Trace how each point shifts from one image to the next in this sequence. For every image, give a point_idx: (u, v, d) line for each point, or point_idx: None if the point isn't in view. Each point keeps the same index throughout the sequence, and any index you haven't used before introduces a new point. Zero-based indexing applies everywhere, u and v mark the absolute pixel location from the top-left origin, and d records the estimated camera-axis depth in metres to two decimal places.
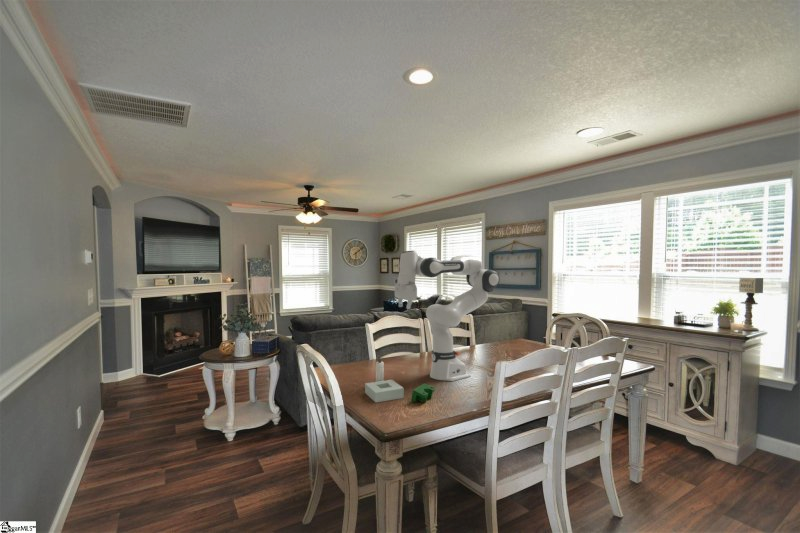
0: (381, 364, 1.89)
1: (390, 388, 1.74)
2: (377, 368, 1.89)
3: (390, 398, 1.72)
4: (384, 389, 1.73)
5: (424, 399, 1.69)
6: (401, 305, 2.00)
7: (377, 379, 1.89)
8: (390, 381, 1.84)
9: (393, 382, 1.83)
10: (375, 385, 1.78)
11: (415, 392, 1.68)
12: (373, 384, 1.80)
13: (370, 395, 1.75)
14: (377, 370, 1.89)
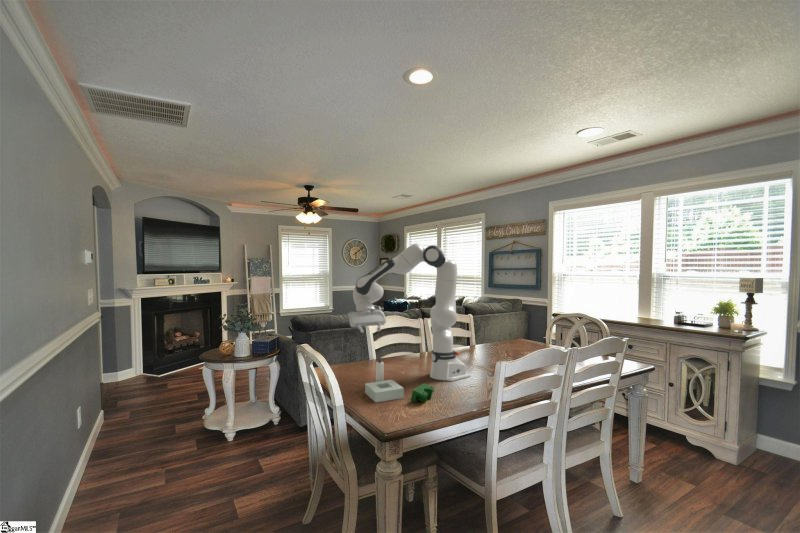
0: (381, 364, 1.89)
1: (390, 388, 1.74)
2: (377, 368, 1.89)
3: (390, 398, 1.72)
4: (384, 389, 1.73)
5: (424, 399, 1.69)
6: (377, 329, 2.04)
7: (377, 379, 1.89)
8: (390, 381, 1.84)
9: (393, 382, 1.83)
10: (375, 385, 1.78)
11: (415, 392, 1.68)
12: (373, 384, 1.80)
13: (370, 395, 1.75)
14: (377, 370, 1.89)
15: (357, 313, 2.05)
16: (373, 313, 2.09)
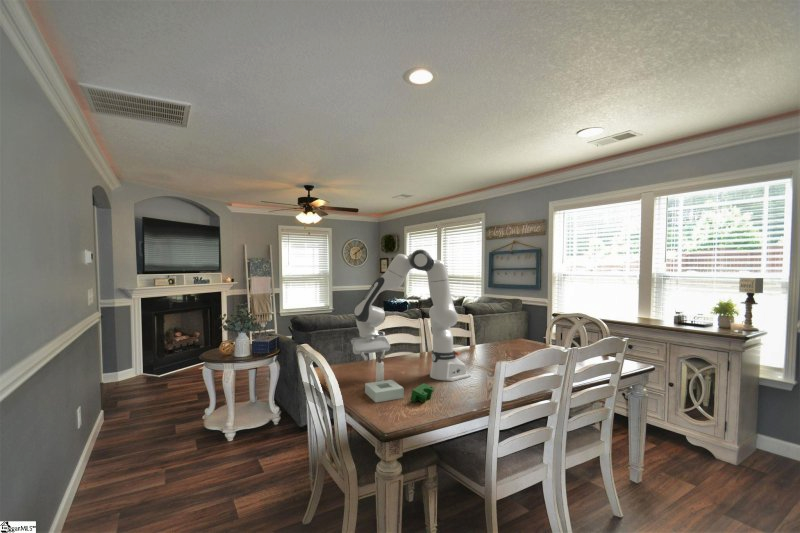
0: (381, 364, 1.89)
1: (390, 388, 1.74)
2: (377, 368, 1.89)
3: (390, 398, 1.72)
4: (384, 389, 1.73)
5: (423, 399, 1.69)
6: (381, 356, 1.99)
7: (377, 379, 1.89)
8: (390, 381, 1.84)
9: (393, 382, 1.83)
10: (375, 385, 1.78)
11: (414, 392, 1.68)
12: (373, 384, 1.80)
13: (370, 395, 1.75)
14: (377, 370, 1.89)
15: (360, 340, 2.00)
16: (377, 339, 2.04)
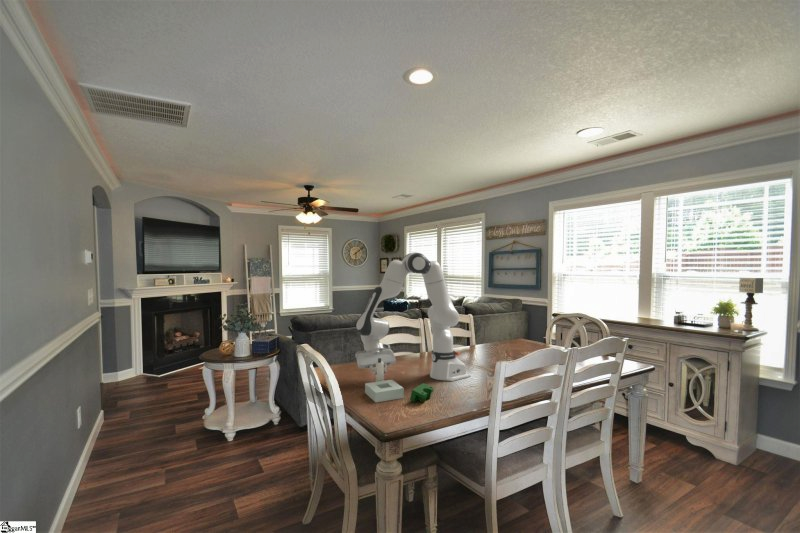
0: (381, 364, 1.89)
1: (390, 388, 1.74)
2: (377, 368, 1.89)
3: (390, 398, 1.72)
4: (384, 389, 1.73)
5: (423, 399, 1.69)
6: None
7: (377, 379, 1.89)
8: (390, 381, 1.84)
9: (393, 382, 1.83)
10: (375, 385, 1.78)
11: (414, 392, 1.68)
12: (373, 384, 1.80)
13: (370, 395, 1.75)
14: (377, 370, 1.89)
15: (365, 353, 1.94)
16: (382, 352, 1.97)
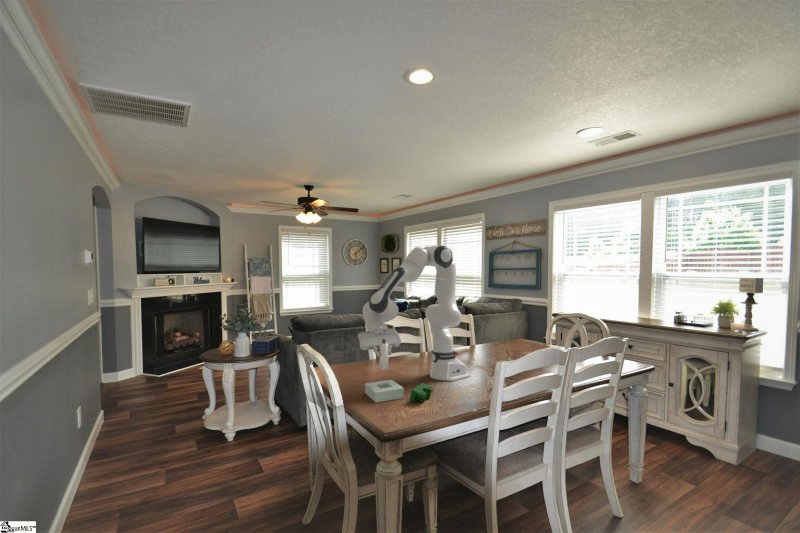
0: (385, 345, 1.76)
1: (390, 388, 1.74)
2: (381, 349, 1.76)
3: (390, 398, 1.72)
4: (384, 389, 1.73)
5: (422, 399, 1.69)
6: (388, 353, 1.78)
7: (381, 361, 1.76)
8: (390, 381, 1.84)
9: (393, 382, 1.83)
10: (375, 385, 1.78)
11: (413, 392, 1.68)
12: (373, 384, 1.80)
13: (370, 395, 1.75)
14: (381, 351, 1.76)
15: (368, 334, 1.81)
16: (386, 333, 1.84)
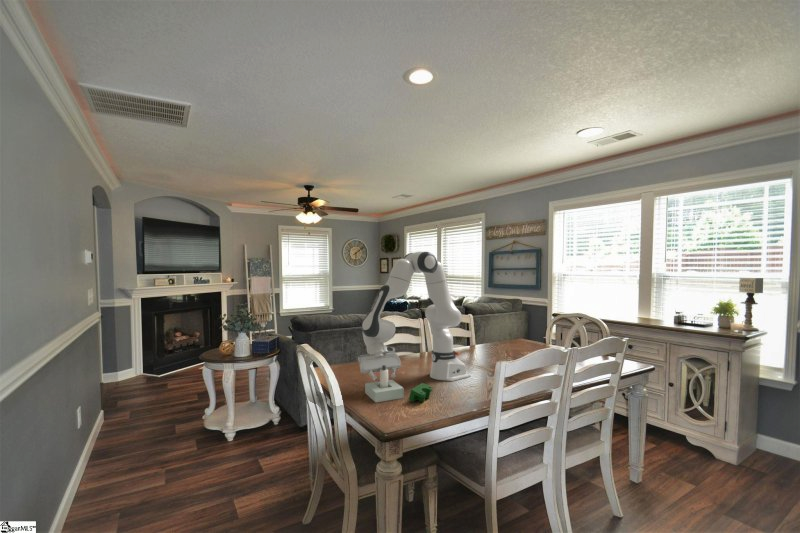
0: (386, 372, 1.76)
1: (390, 388, 1.74)
2: (381, 376, 1.76)
3: (390, 398, 1.72)
4: (384, 389, 1.73)
5: (422, 399, 1.69)
6: (392, 375, 1.79)
7: None
8: (390, 381, 1.84)
9: (393, 382, 1.83)
10: (375, 385, 1.78)
11: (413, 392, 1.68)
12: (373, 384, 1.80)
13: (370, 395, 1.75)
14: (381, 378, 1.76)
15: (368, 357, 1.81)
16: (386, 356, 1.84)
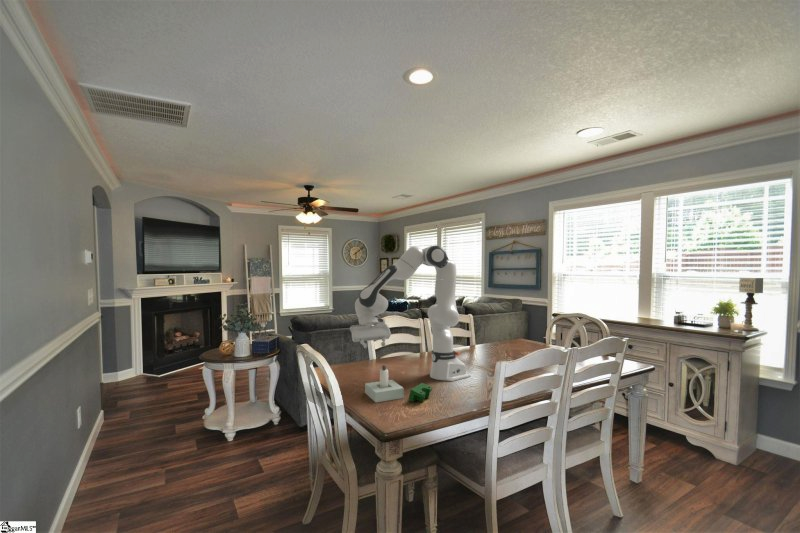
0: (386, 372, 1.76)
1: (390, 388, 1.74)
2: (381, 376, 1.76)
3: (390, 398, 1.72)
4: (384, 389, 1.73)
5: (421, 398, 1.69)
6: (382, 344, 1.91)
7: None
8: (390, 381, 1.84)
9: (393, 382, 1.83)
10: (375, 385, 1.78)
11: (413, 391, 1.68)
12: (373, 384, 1.80)
13: (370, 395, 1.75)
14: (381, 378, 1.76)
15: (360, 327, 1.92)
16: (377, 326, 1.95)
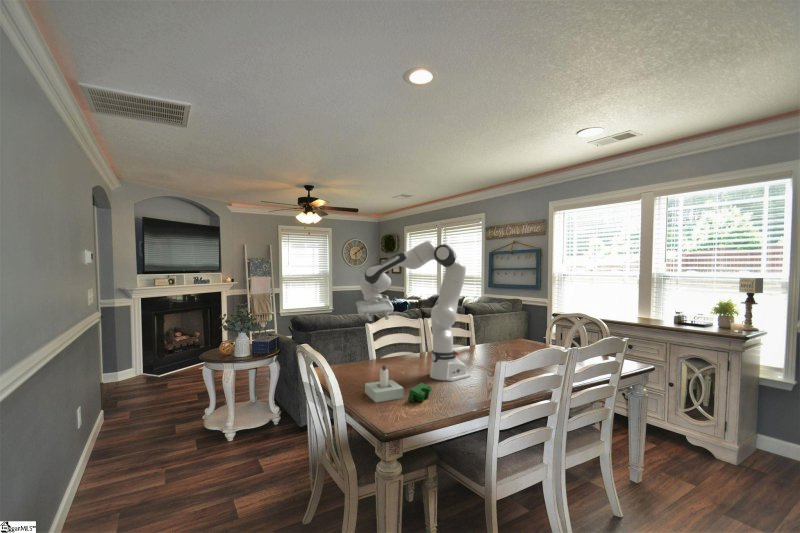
0: (386, 372, 1.76)
1: (390, 388, 1.74)
2: (381, 376, 1.76)
3: (390, 398, 1.72)
4: (384, 389, 1.73)
5: (421, 398, 1.69)
6: (385, 317, 2.07)
7: None
8: (390, 381, 1.84)
9: (393, 382, 1.83)
10: (375, 385, 1.78)
11: (412, 391, 1.68)
12: (373, 384, 1.80)
13: (370, 395, 1.75)
14: (381, 378, 1.76)
15: (365, 302, 2.08)
16: (381, 302, 2.12)
